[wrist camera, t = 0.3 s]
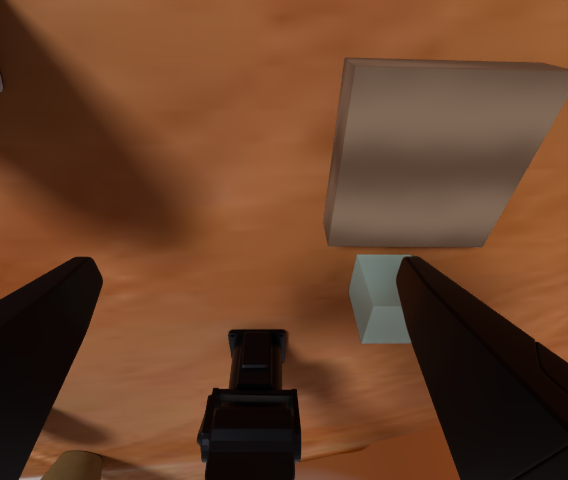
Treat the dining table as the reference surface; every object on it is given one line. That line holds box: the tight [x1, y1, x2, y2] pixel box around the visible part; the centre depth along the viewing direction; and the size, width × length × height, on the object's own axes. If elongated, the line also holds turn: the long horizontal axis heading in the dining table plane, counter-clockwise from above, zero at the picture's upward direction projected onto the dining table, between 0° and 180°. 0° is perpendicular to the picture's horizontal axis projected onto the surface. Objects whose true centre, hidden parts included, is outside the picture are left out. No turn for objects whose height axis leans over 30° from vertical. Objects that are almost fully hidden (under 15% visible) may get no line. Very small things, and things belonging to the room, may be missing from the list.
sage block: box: [349, 255, 411, 343], centre depth 27 cm, size 5×5×6 cm
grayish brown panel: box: [323, 58, 568, 247], centre depth 21 cm, size 12×12×3 cm
